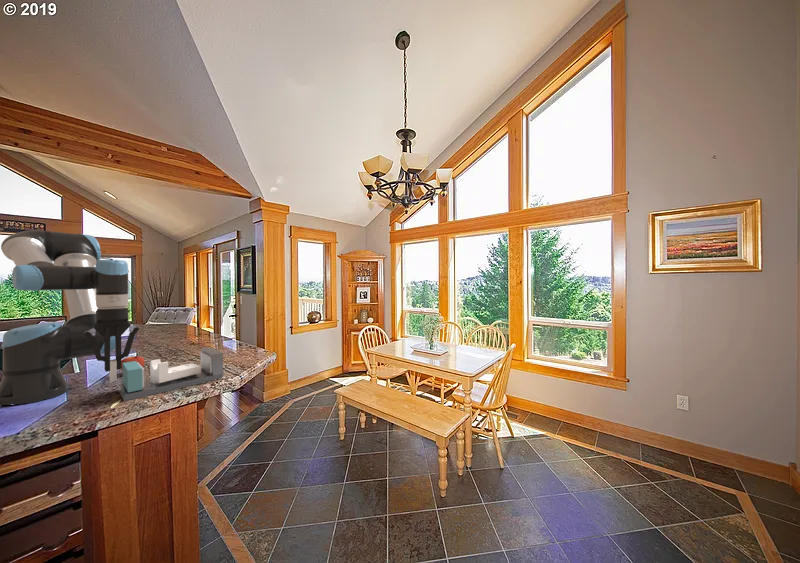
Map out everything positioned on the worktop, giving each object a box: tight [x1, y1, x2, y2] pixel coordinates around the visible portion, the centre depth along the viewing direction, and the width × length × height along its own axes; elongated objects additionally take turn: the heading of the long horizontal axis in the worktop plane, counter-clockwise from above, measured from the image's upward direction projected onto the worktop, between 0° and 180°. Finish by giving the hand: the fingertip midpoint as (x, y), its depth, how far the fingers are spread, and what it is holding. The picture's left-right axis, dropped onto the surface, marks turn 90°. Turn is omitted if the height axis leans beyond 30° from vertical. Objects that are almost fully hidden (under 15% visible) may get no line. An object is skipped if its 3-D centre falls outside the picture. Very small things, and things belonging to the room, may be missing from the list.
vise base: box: [117, 368, 224, 402], centre depth 107 cm, size 14×28×2 cm, turn 139°
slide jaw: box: [122, 361, 145, 393], centre depth 99 cm, size 13×4×7 cm, turn 49°
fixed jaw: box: [199, 346, 224, 376], centre depth 116 cm, size 14×4×8 cm, turn 49°
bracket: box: [149, 358, 201, 384], centre depth 107 cm, size 13×7×8 cm, turn 149°
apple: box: [120, 353, 145, 372], centre depth 119 cm, size 7×7×8 cm
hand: (113, 380), depth 95 cm, fingers closed
